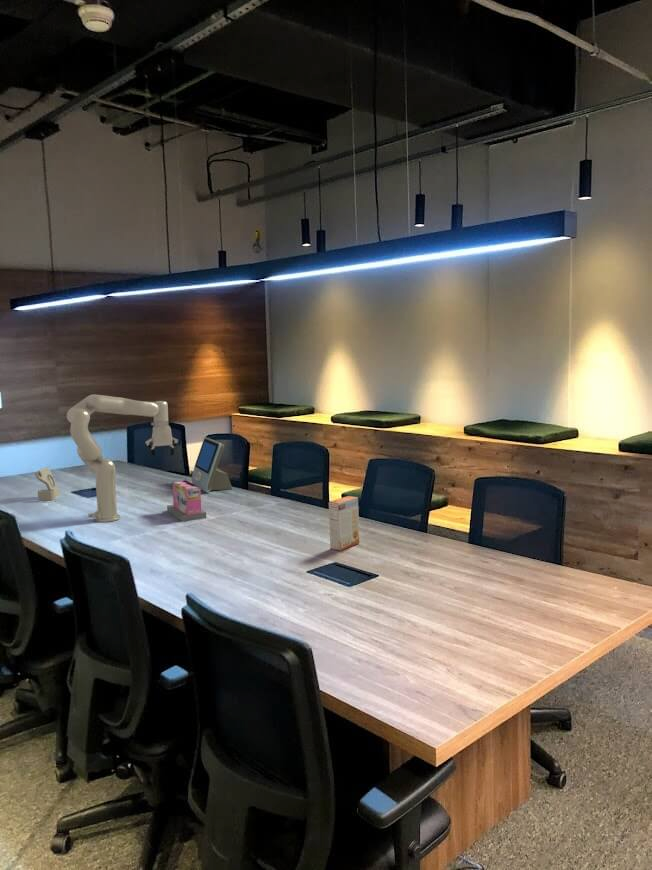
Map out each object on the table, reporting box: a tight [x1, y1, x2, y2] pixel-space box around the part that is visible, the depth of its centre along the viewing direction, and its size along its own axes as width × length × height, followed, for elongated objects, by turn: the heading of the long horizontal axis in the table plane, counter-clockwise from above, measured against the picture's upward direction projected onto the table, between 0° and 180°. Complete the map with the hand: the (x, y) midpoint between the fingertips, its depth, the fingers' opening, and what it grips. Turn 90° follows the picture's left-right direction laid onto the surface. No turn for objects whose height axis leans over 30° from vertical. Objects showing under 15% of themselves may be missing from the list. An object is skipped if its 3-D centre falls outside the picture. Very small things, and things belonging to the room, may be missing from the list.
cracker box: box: [328, 495, 360, 552], centre depth 309 cm, size 14×6×21 cm, turn 141°
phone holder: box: [34, 466, 61, 501], centre depth 422 cm, size 17×10×18 cm, turn 178°
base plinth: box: [166, 504, 207, 522], centre depth 375 cm, size 13×27×3 cm, turn 28°
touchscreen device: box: [191, 437, 233, 494], centre depth 443 cm, size 35×20×30 cm, turn 25°
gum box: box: [172, 479, 202, 515], centre depth 372 cm, size 24×8×14 cm, turn 30°
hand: (162, 456), depth 384 cm, fingers open, 9 cm apart
